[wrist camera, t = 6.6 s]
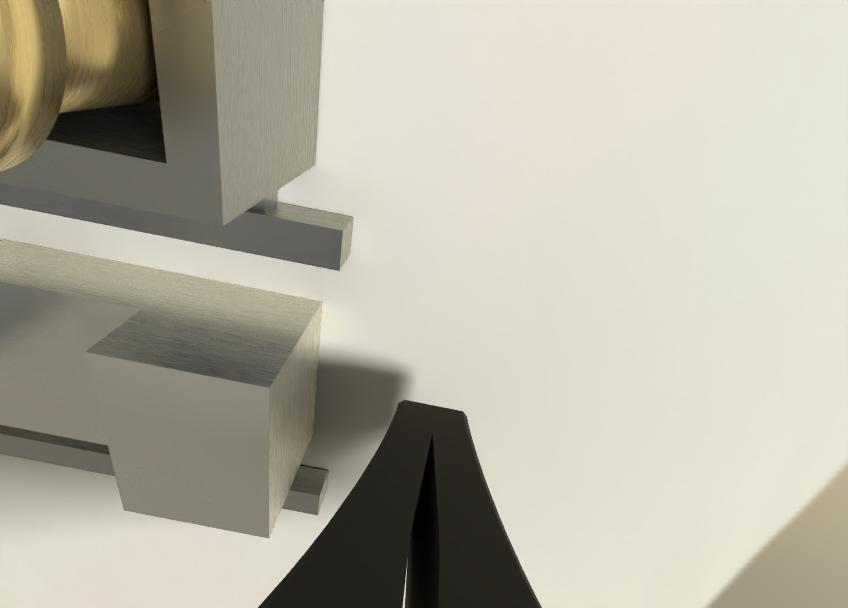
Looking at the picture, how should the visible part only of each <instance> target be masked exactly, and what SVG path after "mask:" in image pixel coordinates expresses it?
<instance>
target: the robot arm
mask: <svg viewBox="0 0 848 608" xmlns="http://www.w3.org/2000/svg"><path fill="white" fill-rule="evenodd" d="M407 558H408V560H407ZM406 568H407V579H406V598H405V608H542V607H541V605H540V603H539V601H538V599H537V597H536V596H535V594H534V592H533V589H532V587H531V585H530V583H529V581H528V579H527V577H526V575H525V573H524V571H523V569H522V567H521V565H520V563H519V560H518V558H517V556H516V554H515V551H514V549H513V547H512V545H511V542H510V540H509V538H508V536H507V533H506V531H505V529H504V526H503V524H502V522H501V519H500V517H499V514H498V512H497V509H496V507H495V504H494V501H493V499H492V496H491V494H490V491H489V488H488V486H487V483H486V480H485V477H484V475H483V472H482V469H481V466H480V463H479V460H478V457H477V454H476V450H475V447H474V444H473V440H472V437H471V433H470V429H469V425H468V420H467V416H466V415H465V414H464V412H463V411H458V410H453V409H448V408H443V407H438V406H433V405H428V404H423V403H418V402H413V401H408V400H404V401H402V402H400V403H398V406H397V410H396V413H395V415H394V418H393V420H392V423H391V425H390V427H389V429H388V431H387V433H386V435H385V437H384V439H383V441H382V442H381V444H380V446H379V448H378V450H377V451H376V453H375V455H374V456H373V458H372V460H371V461H370V463H369V464H368V466H367V468H366V469H365V471H364V473H363V474H362V476H361V477H360V479H359V481H358V482H357V484H356V485H355V487H354V488H353V489H352V491H351V492H350V494H349V495H348V496H347V498H346V499H345V501H344V502H343V503H342V505H341V506H340V508H339V509H338V511H337V512H336V513H335V515H334V516H333V518H332V519H331V520H330V522H329V523H328V524H327V526H326V527H325V528H324V530H323V531H322V532H321V533H320V535H319V536H318V537H317V539H316V540H315V541H314V542H313V544H312V545H311V546H310V548H309V549H308V550H307V551H306V552H305V554H304V555H303V556H302V557H301V559H300V560H299V561H298V562H297V563H296V565H295V566H294V567H293V568H292V569H291V571H290V572H289V573H288V574H287V575H286V577H285V578H284V579H283V580H282V581H281V582H280V583H279V584H278V586H277V587H276V588H275V589H274V590H273V591H272V592H271V594H270V595H269V596H268V597H267V598H266V599H265V600H264V602H263V603H262V604H261V605H260V606H259V607H258V608H402V606H403V596H404V587H405V577H406Z"/></svg>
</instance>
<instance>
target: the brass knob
mask: <svg viewBox="0 0 848 608" xmlns="http://www.w3.org/2000/svg"><path fill="white" fill-rule="evenodd" d="M153 101H160V98H159V89H158V80H157V70H156V61H155V52H154V43H153V34H152V24H151V15H150V6H149V0H0V172H1V171H4V170H7V169H10V168H12V167H14V166H16V165H18V164H19V163H21V162H23V161H24V160H26V159H28V158H29V157H30V156H31V155H32V154H33V153H34V152H35V151H36V150H37V149H38V148H39V147H40V146H41V145H42V144H43V142H44V141H45V139H46V138H47V137H48V135H49V134H50V132H51V130H52V128H53V126H54V124H55V122H56V119H57V117H58V115H59V113H65V112H73V111H81V110H89V109H97V108H105V107H113V106H121V105H129V104H137V103H145V102H153Z"/></svg>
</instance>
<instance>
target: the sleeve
mask: <svg viewBox="0 0 848 608" xmlns="http://www.w3.org/2000/svg"><path fill="white" fill-rule="evenodd" d="M0 204H3V205H8V206H13V207H18V208H23V209H28V210H33V211H38V212H43V213H48V214H53V215H59V216H64V217H69V218H74V219H79V220H84V221H89V222H94V223H99V224H104V225H109V226H114V227H119V228H125V229H130V230H135V231H140V232H145V233H150V234H155V235H160V236H165V237H170V238H175V239H180V240H185V241H191V242H196V243H201V244H206V245H211V246H216V247H221V248H226V249H231V250H236V251H241V252H246V253H251V254H257V255H262V256H267V257H272V258H277V259H282V260H287V261H292V262H297V263H302V264H307V265H312V266H317V267H323V268H328V269H333V270H338V271H340V269H341V268H342V266H343V264H344V263H345V261H346V260H347V258H348V256H349V255H350V245H351V235H352V225H353V217H350V216H345V215H340V214H335V213H330V212H325V211H320V210H315V209H310V208H305V207H300V206H295V205H290V204H285V203H280V202H277V203H275V204H274V205H273V206H271V207H270V208H269V209H267V210H266V211H262V210H257V209H251V208H250V209H248V210H247V211H245V212H244V213H242V214H241V215H239V216H238V217H236V218H235V219H233V220H232V221H230V222H229V223H227V224H226V225H224V226H221V225H216V224H210V223H205V222H200V221H195V220H190V219H185V218H180V217H175V216H170V215H165V214H160V213H155V212H150V211H145V210H139V209H134V208H129V207H124V206H119V205H114V204H109V203H104V202H99V201H94V200H89V199H84V198H79V197H74V196H68V195H63V194H58V193H53V192H48V191H43V190H38V189H33V188H28V187H23V186H18V185H13V184H8V183H3V182H0ZM0 454H5V455H10V456H15V457H20V458H26V459H31V460H36V461H41V462H46V463H51V464H56V465H62V466H67V467H72V468H77V469H82V470H87V471H92V472H98V473H103V474H108V475H113V476H115V472H114V468H113V464H112V460H111V456H110V452H109V447H108V445H103V444H98V443H92V442H87V441H82V440H77V439H72V438H67V437H62V436H56V435H51V434H46V433H41V432H36V431H31V430H26V429H20V428H15V427H10V426H5V425H0ZM327 479H328V471H326V470H321V469H316V468H311V467H306V466H299V468H298V471H297V473H296V475H295V478H294V480H293V483H292V485H291V487H290V490H289V492H288V494H287V497H286V499H285V502H284V504H283V506H282V508H283V509H288V510H293V511H298V512H304V513H309V514H314V515H318V514H319V511H320V508H321V505H322V502H323V499H324V496H325V493H326V489H327Z"/></svg>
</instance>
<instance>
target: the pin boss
mask: <svg viewBox="0 0 848 608" xmlns="http://www.w3.org/2000/svg"><path fill="white" fill-rule="evenodd" d="M323 2H324V0H149V6H150V15H151V24H152V34H153V43H154V52H155V61H156V70H157V80H158V89H159V98H160V101H153V102H145V103H137V104H129V105H121V106H113V107H105V108H97V109H89V110H81V111H73V112H65V113H59V115H58V117H57V119H56V122H55V124H54V126H53V128H52V130H51V132H50V134H49V135H48V137H47V138H46V139H45V141H44V142H43V144H42V145H41V146H40V147H39V148H38V149H37V150H36V151H35V152H34V153H33V154H32V155H31V156H30V157H29V158H28V159H26V160H24V161H23V162H21V163H19V164H18V165H16V166H14V167H12V168H10V169H7V170H4V171H1V172H0V182H3V183H8V184H13V185H18V186H23V187H28V188H33V189H38V190H43V191H48V192H53V193H58V194H63V195H68V196H74V197H79V198H84V199H89V200H94V201H99V202H104V203H109V204H114V205H119V206H124V207H129V208H134V209H139V210H145V211H150V212H155V213H160V214H165V215H170V216H175V217H180V218H185V219H190V220H195V221H200V222H205V223H210V224H216V225H221V226H224V225H226V224H227V223H229V222H230V221H232V220H233V219H235V218H236V217H238V216H239V215H241V214H242V213H244V212H245V211H247V210H248V209H250V208H251V209H257V210H262V211H266V210H267V209H269V208H270V207H271V206H273V205H274V204H275V203H277V191H278V189H280V188H281V187H283V186H284V185H286V184H287V183H289V182H290V181H292V180H293V179H295V178H296V177H298V176H299V175H301V174H302V173H304V172H305V171H307V170H308V169H310V168H311V167H313V166H314V165H315V157H316V138H317V119H318V99H319V80H320V60H321V41H322V22H323Z"/></svg>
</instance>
